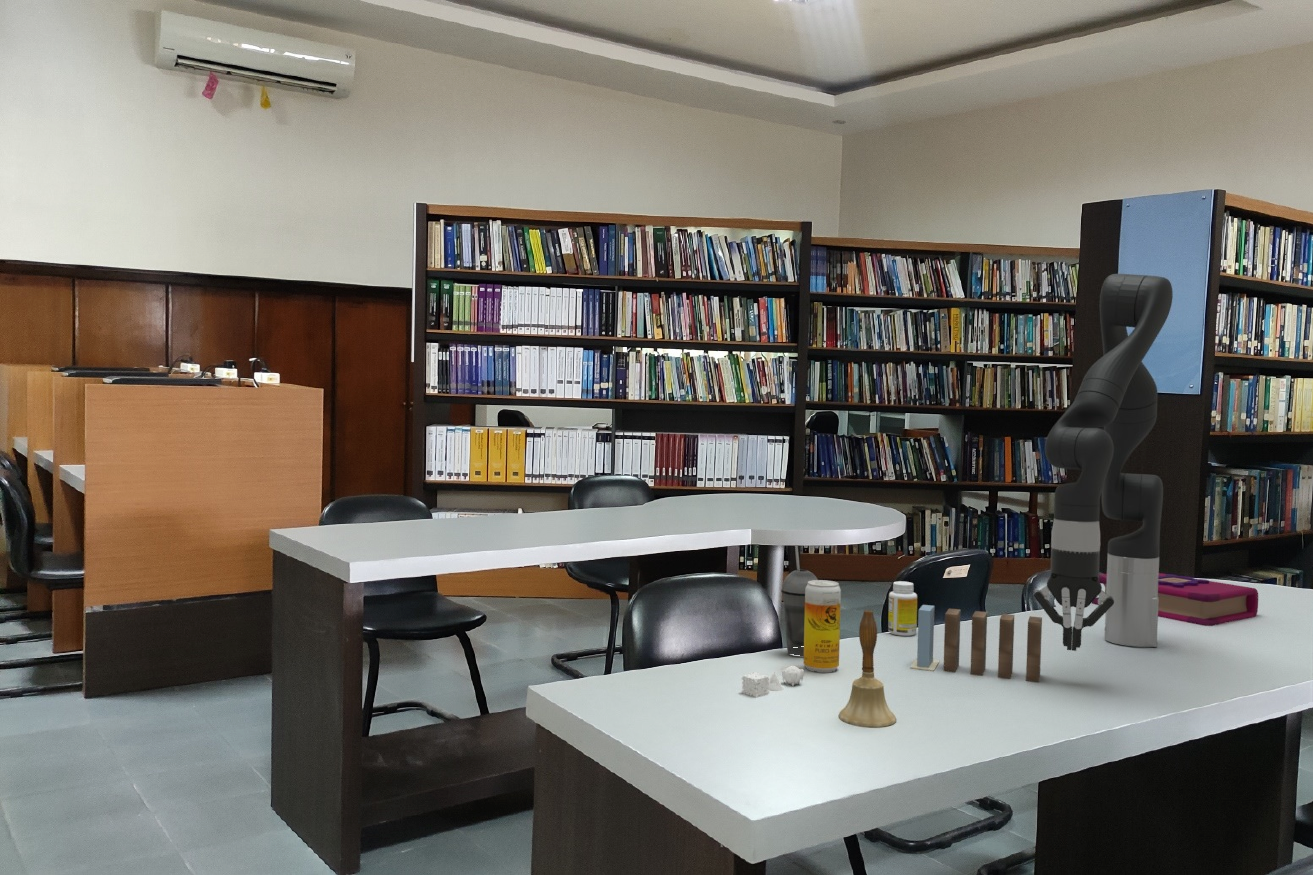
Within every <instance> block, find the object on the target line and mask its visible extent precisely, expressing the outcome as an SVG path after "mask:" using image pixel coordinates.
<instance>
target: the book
mask: <svg viewBox="0 0 1313 875" xmlns="http://www.w3.org/2000/svg"><path fill="white" fill-rule="evenodd" d="M1099 582H1100V584H1101V585H1103V586H1104V589H1105V590H1104V592H1105V593H1106V586H1107V573H1103V574H1099ZM1098 599H1099V596H1097V597H1096V598H1095V599H1094V600H1093V602H1092V603H1091V604H1092V605H1096V606H1099V604H1098ZM1158 599H1159V601H1158V618H1163V619H1168V620H1174V621H1178V622H1183V623H1187V624H1188V623H1189V624H1191V625H1192V624H1193V625H1198V626H1205V627H1213V626H1217V625H1221V624H1227V623H1231V622H1232V623H1233V622H1236V621H1242V620H1246V619H1252V618H1256V616H1257V614H1258V608H1259V592H1258V589H1256V588H1255V587H1250V586H1243V585H1237V584H1231V583H1230V584H1229V583H1225V582H1218V581H1212V580H1211V581H1210V580H1208V579H1201V578H1194V577H1192V576H1184V575H1183V576H1182V575H1176V574H1171V573H1170V574H1169V573H1163V572H1161V573H1160V572H1159V576H1158Z"/></svg>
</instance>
